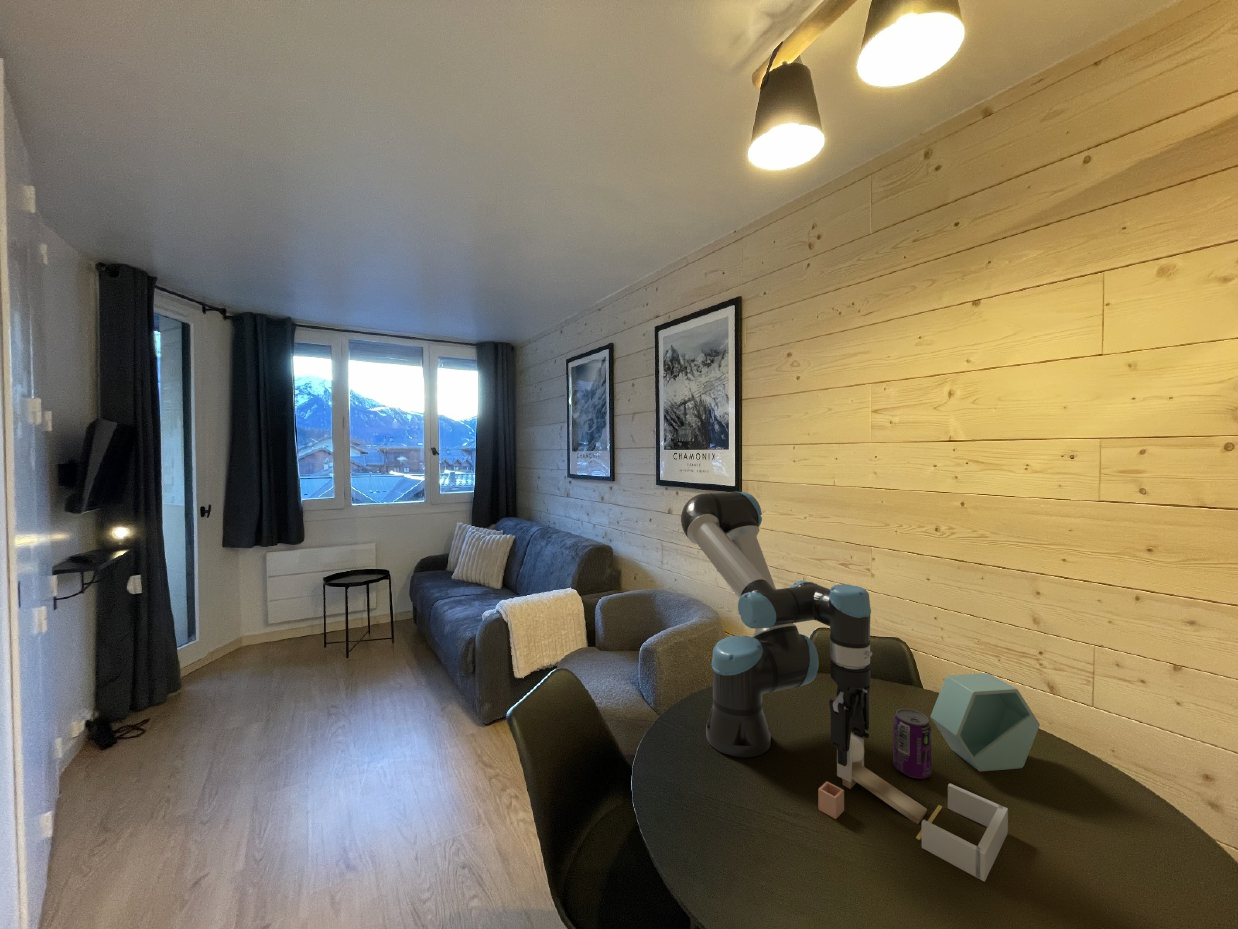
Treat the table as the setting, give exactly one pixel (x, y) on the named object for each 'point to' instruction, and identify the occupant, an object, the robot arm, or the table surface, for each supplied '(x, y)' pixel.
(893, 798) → the ramp
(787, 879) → the table surface
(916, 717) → the beverage can
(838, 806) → the salmon pink box
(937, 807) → the line
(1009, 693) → the hexagonal wall shelf
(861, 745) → the ball
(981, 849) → the fence
